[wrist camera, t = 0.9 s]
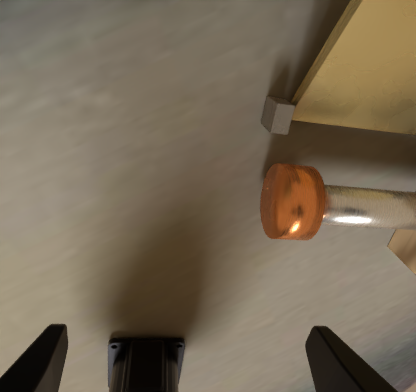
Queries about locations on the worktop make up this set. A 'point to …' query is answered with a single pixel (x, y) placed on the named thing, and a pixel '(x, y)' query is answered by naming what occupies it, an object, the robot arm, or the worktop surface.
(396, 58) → the plate
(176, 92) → the worktop surface
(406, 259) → the block
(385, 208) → the hitch pin
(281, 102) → the keeper bracket
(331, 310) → the worktop surface
